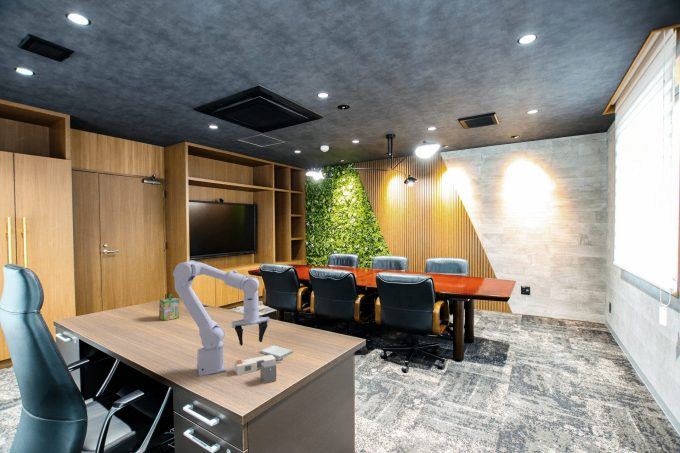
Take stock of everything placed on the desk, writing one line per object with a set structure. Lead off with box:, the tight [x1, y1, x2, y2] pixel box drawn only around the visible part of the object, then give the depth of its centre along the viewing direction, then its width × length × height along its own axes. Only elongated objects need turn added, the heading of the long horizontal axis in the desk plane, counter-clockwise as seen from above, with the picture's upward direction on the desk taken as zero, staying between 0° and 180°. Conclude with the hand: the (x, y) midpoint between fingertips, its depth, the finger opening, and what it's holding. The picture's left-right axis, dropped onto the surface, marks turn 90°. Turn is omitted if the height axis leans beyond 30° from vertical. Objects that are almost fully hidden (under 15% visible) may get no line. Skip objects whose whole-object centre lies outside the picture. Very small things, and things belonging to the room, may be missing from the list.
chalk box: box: [158, 293, 180, 321], centre depth 201 cm, size 9×9×15 cm
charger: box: [259, 361, 277, 384], centre depth 120 cm, size 4×7×6 cm, turn 30°
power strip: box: [233, 355, 284, 376], centre depth 130 cm, size 19×5×4 cm, turn 120°
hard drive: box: [259, 344, 294, 359], centre depth 146 cm, size 2×8×12 cm
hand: (250, 343), depth 129 cm, fingers open, 7 cm apart
